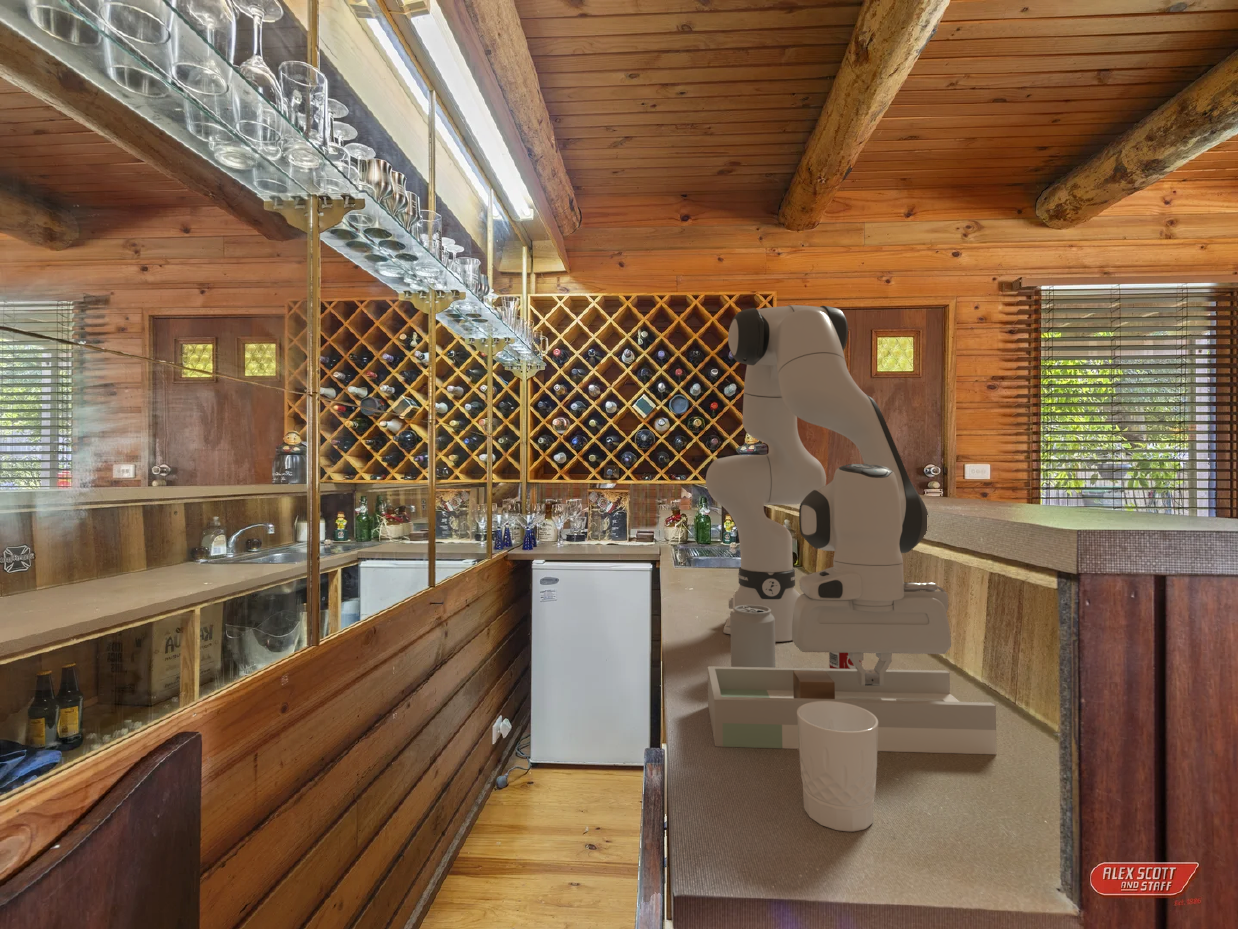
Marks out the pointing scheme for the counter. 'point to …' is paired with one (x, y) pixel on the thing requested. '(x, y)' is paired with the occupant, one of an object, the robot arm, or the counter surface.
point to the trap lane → (905, 705)
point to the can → (752, 637)
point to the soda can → (840, 661)
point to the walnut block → (813, 685)
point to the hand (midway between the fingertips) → (870, 684)
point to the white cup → (838, 763)
